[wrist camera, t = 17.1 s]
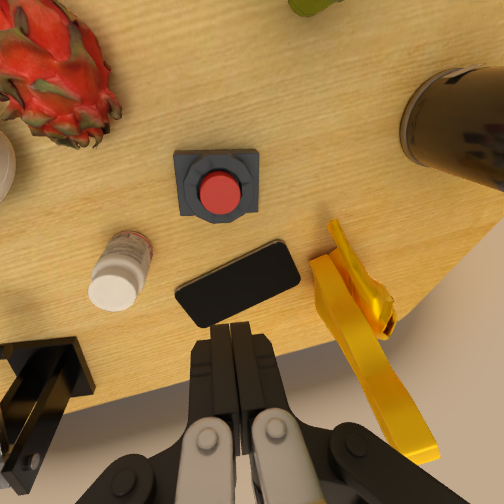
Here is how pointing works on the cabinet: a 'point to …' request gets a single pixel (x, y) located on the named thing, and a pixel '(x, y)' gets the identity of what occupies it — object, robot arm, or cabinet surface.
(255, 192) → the control block
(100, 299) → the pill bottle
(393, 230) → the cabinet surface
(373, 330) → the figure statuette
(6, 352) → the lever
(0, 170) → the light fixture
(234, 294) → the smartphone
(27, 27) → the dragon fruit
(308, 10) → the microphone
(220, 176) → the button
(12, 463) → the bracket
